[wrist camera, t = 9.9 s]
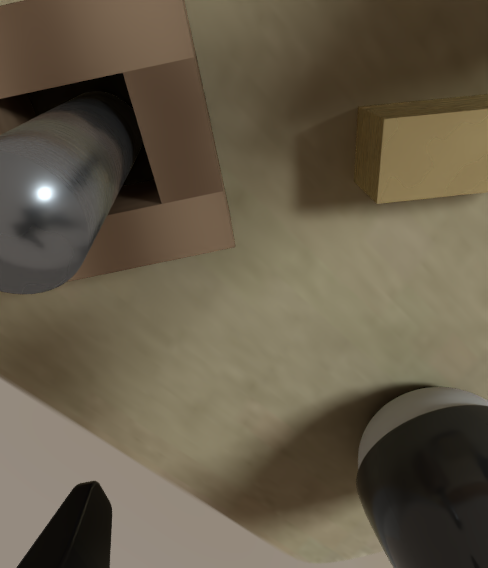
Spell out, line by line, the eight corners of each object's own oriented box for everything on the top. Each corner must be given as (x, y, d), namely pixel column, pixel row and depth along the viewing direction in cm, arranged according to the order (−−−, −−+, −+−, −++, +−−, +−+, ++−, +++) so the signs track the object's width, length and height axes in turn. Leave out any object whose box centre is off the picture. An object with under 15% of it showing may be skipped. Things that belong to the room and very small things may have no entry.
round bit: (128, 83, 17) (51, 135, 8) (152, 163, 18) (109, 278, 10) (48, 100, 17) (-111, 170, 8) (79, 179, 18) (-27, 306, 10)
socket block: (180, -20, 15) (174, -33, 12) (230, 214, 20) (235, 246, 17) (-65, 34, 15) (-130, 34, 12) (41, 253, 20) (12, 293, 17)
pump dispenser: (453, 328, 24) (742, 667, 11) (514, 421, 29) (771, 738, 16) (306, 416, 27) (406, 774, 14) (384, 488, 32) (513, 808, 19)
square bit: (539, 88, 18) (598, 98, 16) (520, 162, 20) (571, 183, 17) (356, 106, 18) (384, 118, 15) (352, 179, 20) (376, 203, 17)
